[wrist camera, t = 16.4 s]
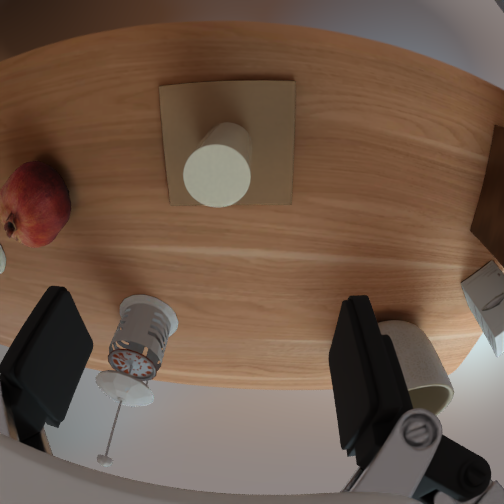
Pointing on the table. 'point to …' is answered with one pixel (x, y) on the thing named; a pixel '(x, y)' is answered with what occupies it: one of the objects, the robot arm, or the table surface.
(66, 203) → the fruit
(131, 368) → the french press
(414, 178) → the table surface
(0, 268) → the lamp
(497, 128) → the brown lidded box
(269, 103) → the mat
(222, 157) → the cream mug
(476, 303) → the white packaging box
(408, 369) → the planter
